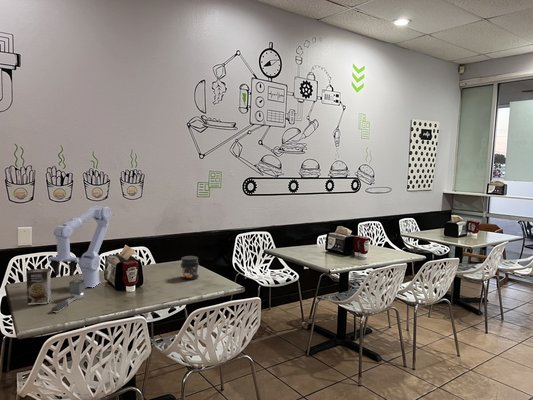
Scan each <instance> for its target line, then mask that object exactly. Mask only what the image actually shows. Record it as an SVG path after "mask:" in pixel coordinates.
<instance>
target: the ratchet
mask: <svg viewBox="0 0 533 400" xmlns="http://www.w3.org/2000/svg"><path fill="white" fill-rule="evenodd" d="M82 297H84V298H85V292H83V293H82V294H80V295H72V294H70V296H69V298H67V299H65V300H62V301H60V302H59V303H57V304H56V305H54V306H53V307H51V312H52V311H59V310H60V309H62V308H63V307H65V306H66V305H68V303H70V302H72V301H73V300H75V299H77V298H82ZM82 299H83V298H82ZM75 301H76V300H75ZM72 303H73V302H72ZM68 306H69V305H68Z"/></svg>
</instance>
